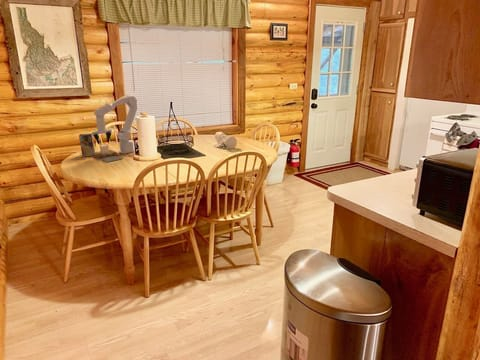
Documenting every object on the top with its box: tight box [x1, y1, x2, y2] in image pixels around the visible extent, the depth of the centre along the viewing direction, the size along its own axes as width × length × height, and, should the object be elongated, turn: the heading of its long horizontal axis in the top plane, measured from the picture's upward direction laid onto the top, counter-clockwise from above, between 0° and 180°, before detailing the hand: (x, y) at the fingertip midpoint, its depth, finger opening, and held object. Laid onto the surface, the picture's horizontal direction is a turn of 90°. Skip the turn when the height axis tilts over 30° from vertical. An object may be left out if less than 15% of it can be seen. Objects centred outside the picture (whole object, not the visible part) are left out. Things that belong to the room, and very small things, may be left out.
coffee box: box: [78, 132, 96, 157], centre depth 279 cm, size 9×6×16 cm
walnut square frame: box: [92, 149, 119, 160], centre depth 279 cm, size 14×12×2 cm
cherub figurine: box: [212, 131, 238, 150], centre depth 301 cm, size 13×12×20 cm
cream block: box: [99, 144, 110, 154], centre depth 278 cm, size 4×4×8 cm
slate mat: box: [100, 156, 123, 163], centre depth 270 cm, size 12×10×1 cm
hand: (103, 143), depth 276 cm, fingers open, 7 cm apart
